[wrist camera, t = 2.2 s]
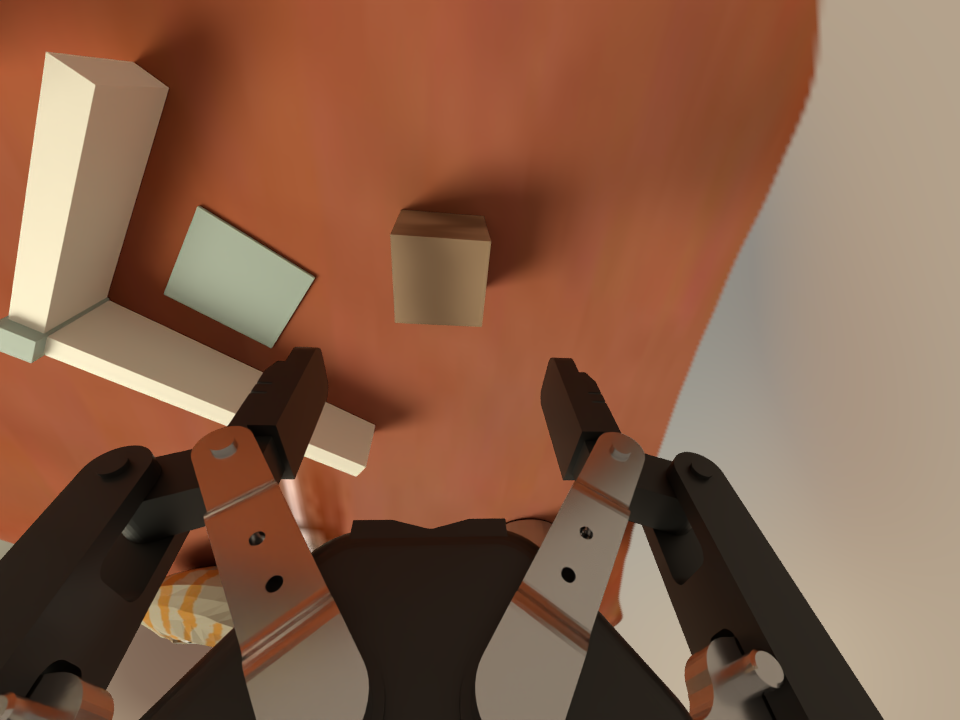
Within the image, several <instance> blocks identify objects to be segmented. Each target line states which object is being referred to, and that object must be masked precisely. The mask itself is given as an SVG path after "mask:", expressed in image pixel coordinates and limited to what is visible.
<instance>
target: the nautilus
mask: <svg viewBox="0 0 960 720" xmlns="http://www.w3.org/2000/svg"><path fill="white" fill-rule="evenodd" d="M141 624H142V625H144V626H145V627H147V628H149V629H150V630H152V631H153V632H155V633H156V634H157V635H159V636H160V637H161V638H167V639H169V640H170V641H171V642H172V643H176V644H190V643H192V644H195V643H196V644H201V645H207V646H211V647H214V646H215V645H216V644H217V643H218V642H219V641H220V640H221V639H222V638H223V637H224V636H225V635H226V634H227V633H228V632H229V631H230V630H231V629H233V628H234V624H233V621H232V617H231V614H230V610H229V607H228V603H227V600H226V596H225V593H224V589H223V586H222V582H221V579H220V575H219V572H218V568H217V566H212V567H205V568H199V569H193V570H188V571H183V572H179V573H175V574H172V575H169V576H167V577H165V579H164V581H163V583H162V585H161V587H160V588H159V590H158V592H157V594H156V596H155V598H154V600H153V602H152V604H151V605H150V607H149V609H148V611H147V613H146V615H145V617H144V619H143V621H142V623H141Z"/></svg>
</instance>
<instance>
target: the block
mask: <svg viewBox="0 0 960 720" xmlns="http://www.w3.org/2000/svg"><path fill="white" fill-rule="evenodd" d="M390 237H391V256H392V275H393V294H394V312H395V323H410V324H432V325H454V326H475V327H482V320H483V311H484V302H485V293H486V284H487V275H488V266H489V257H490V248H491V239H490V236H489V232H488V229H487V225H486V222H485V218H484V216H477V215H464V214H452V213H439V212H426V211H414V210H401V212H400V214H399V216H398V218H397V221H396V223H395V225H394V227H393V230H392V232H391V234H390Z"/></svg>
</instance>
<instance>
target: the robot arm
mask: <svg viewBox="0 0 960 720" xmlns="http://www.w3.org/2000/svg"><path fill="white" fill-rule="evenodd" d="M327 396H328V380H327V375H326V370H325V366H324V361H323V356H322V352H321V349H320V348H312V347H295V348H293V350H292V351H291V353H290V355H289V356H288V358H287V360H286V361H277V362H276V363H274V364H273V365H272V366H270V367H269V368H267V369H266V370H265V371H264V372H263V374H262V375H261V377H260V378H259V380H258V381H257V384H255V386H254V387H253V389H252V390H251V393H249V395H248V396H247V398H246V399H245V401H244V402H243V404H242V405H241V407H240V408H239V410H238V411H237V413H236V414H235V416H234V417H233V419H232V420H231V422H230V423H229V425H228V426H227V427H224V428H221V429H217V430H215V431H213V432H211V433H209V434H207V435H206V436H204V437H203V438H202V439H200V440H199V441H198V442H197V443H196V444H195V446H194V447H193V449H190V450H187V451H182V452H177V453H173V454H168V455H164V456H159V457H154V455H153V454H152V452H151V451H150V450H149V449H148V448H146V447H143V446H126V447H121V448H117V449H114V450H111V451H109V452H107V453H104V454H102V455H100V456H99V457H97V458H95V459H94V460H92V461H91V462H89V463H88V464H87V465H86V466H85V467H84V468H83V469H82V470H81V471H80V472H79V473H78V474H77V475H76V476H75V477H74V479H73V480H72V481H71V482H70V483H69V484H68V485H67V486H66V487H65V489H64V490H63V491H62V492H61V493H60V494H59V495H58V496H57V497H56V499H55V500H54V501H53V502H52V503H51V504H50V505H49V506H48V508H47V509H46V510H45V511H44V512H43V513H42V514H41V515H40V516H39V518H38V519H37V520H36V521H35V522H34V523H33V524H32V525H31V526H30V528H29V529H28V530H27V531H26V532H25V533H24V534H23V535H22V536H21V538H20V539H19V540H18V541H17V542H16V543H15V544H14V545H13V547H12V548H11V549H10V550H9V551H8V552H7V553H6V555H4V557H3V558H2V559H1V560H0V720H112V717H113V713H114V703H113V698H112V696H111V694H110V693H109V692H108V691H106V689H107V687H108V685H109V683H110V681H111V679H112V677H113V676H114V674H115V672H116V670H117V668H118V666H119V664H120V662H121V660H122V659H123V657H124V655H125V653H126V651H127V649H128V647H129V645H130V643H131V642H132V640H133V638H134V636H135V634H136V632H137V630H138V628H139V626H140V624H141V623H142V621H143V619H144V617H145V615H146V613H147V611H148V609H149V607H150V605H151V604H152V602H153V600H154V598H155V596H156V594H157V592H158V590H159V588H160V587H161V585H162V583H163V581H164V579H165V577H166V575H167V573H168V571H169V569H170V568H171V566H172V564H173V562H174V560H175V558H176V556H177V554H178V552H179V550H180V549H181V547H182V545H183V543H184V541H185V539H186V537H187V535H188V533H189V532H190V530H194V529H197V528H201V527H204V526H206V529H207V533H208V536H209V540H210V543H211V547H212V550H213V554H214V557H215V561H216V564H217V568H218V572H219V575H220V579H221V582H222V586H223V589H224V593H225V596H226V600H227V603H228V607H229V610H230V614H231V617H232V621H233V624H234V628H233V629H231V630H230V631H229V632H228V633H227V634H226V635H225V636H224V637H223V638H222V639H221V640H220V641H219V642H218V643H217V644H216V645H215V646H214V647H213V648H212V649H211V650H210V651H209V652H208V653H207V654H206V655H205V656H204V657H203V658H202V659H201V660H200V661H199V662H198V663H197V664H196V665H195V666H194V667H193V668H191V669H190V670H189V672H187V673H186V674H185V675H184V676H183V677H182V678H181V679H180V680H179V681H178V682H177V683H176V684H175V685H174V686H173V687H172V688H171V689H170V690H169V691H168V692H167V693H166V694H165V695H164V696H163V697H162V698H161V699H160V700H159V701H158V702H157V703H156V704H155V705H154V706H152V707H151V708H150V709H149V710H148V711H147V713H145V714H144V715H143V716H142V717H141V718H140V719H139V720H884V719H883V718H882V716H881V714H880V713H879V711H878V710H877V708H876V707H875V706H874V704H873V702H872V701H871V699H870V698H869V696H868V694H867V693H866V691H865V690H864V688H863V687H862V685H861V684H860V682H859V681H858V679H857V678H856V676H855V675H854V673H853V671H852V670H851V668H850V667H849V665H848V664H847V662H846V661H845V659H844V658H843V656H842V655H841V653H840V652H839V650H838V648H837V647H836V645H835V644H834V642H833V641H832V639H831V638H830V636H829V635H828V633H827V632H826V630H825V629H824V627H823V625H822V624H821V622H820V621H819V619H818V618H817V616H816V615H815V613H814V612H813V610H812V609H811V608H810V606H809V604H808V602H807V601H806V599H805V598H804V597H803V595H802V593H801V592H800V590H799V589H798V587H797V586H796V584H795V583H794V581H793V580H792V578H791V576H790V575H789V573H788V572H787V570H786V569H785V567H784V566H783V564H782V563H781V561H780V560H779V558H778V557H777V555H776V554H775V552H774V550H773V549H772V547H771V546H770V544H769V543H768V541H767V540H766V538H765V537H764V535H763V534H762V532H761V530H760V529H759V527H758V526H757V524H756V523H755V521H754V520H753V518H752V517H751V515H750V514H749V512H748V511H747V509H746V507H745V506H744V504H743V503H742V501H741V500H740V498H739V497H738V495H737V494H736V492H735V491H734V489H733V488H732V486H731V485H730V483H729V481H728V480H727V478H726V477H725V475H724V474H723V472H722V471H721V470H720V469H719V467H718V466H717V465H715V464H714V463H713V462H712V461H710V460H709V459H707V458H705V457H703V456H701V455H699V454H696V453H691V452H683V453H680V454H678V455H676V457H675V458H674V460H673V461H669V460H665V459H662V458H658V457H655V456H651V455H648V454H645V453H644V451H643V449H642V448H641V446H640V445H639V444H638V443H637V442H636V441H635V440H633V439H632V438H630V437H628V436H626V435H624V434H621V432H620V430H619V428H618V426H617V424H616V422H615V420H614V418H613V416H612V414H611V412H610V410H609V408H608V406H607V404H606V403H605V400H604V398H603V396H602V394H601V392H600V390H599V388H598V386H597V384H596V382H595V381H594V380H593V379H592V378H591V377H590V376H589V375H588V374H586V373H585V372H578V369H577V367H576V365H575V363H574V361H573V359H571V358H550V360H549V362H548V366H547V370H546V374H545V378H544V381H543V385H542V389H541V406H542V409H543V413H544V416H545V420H546V423H547V427H548V430H549V433H550V437H551V440H552V444H553V447H554V451H555V454H556V457H557V461H558V464H559V468H560V471H561V475H562V478H563V480H575V482H574V484H573V485H572V487H571V489H570V491H569V493H568V495H567V497H566V499H565V501H564V503H563V504H562V506H561V508H560V510H559V512H558V514H557V516H556V518H555V520H554V522H553V524H551V523H549V522H546V521H542V520H534V519H532V520H519V521H514V522H510V523H507V524H506V521H505V519H467V520H464V521H460V522H456V523H452V524H449V525H445V526H441V527H438V528H434V529H427V528H423V527H419V526H415V525H411V524H407V523H403V522H399V521H395V520H353V525H352V529H351V533H348V534H344V535H342V536H339V537H337V538H334V539H332V540H330V541H328V542H326V543H325V544H323V545H322V546H320V547H318V548H317V549H315V550H314V551H313V552H312V553H311V552H310V550H309V548H308V546H307V544H306V542H305V540H304V537H303V535H302V533H301V531H300V529H299V527H298V525H297V523H296V521H295V519H294V517H293V514H292V512H291V510H290V508H289V506H288V504H287V502H286V500H285V498H284V496H283V494H282V491H281V489H280V487H279V482H280V480H281V479H295V477H296V474H297V472H298V470H299V467H300V465H301V462H302V460H303V457H304V455H305V452H306V450H307V447H308V445H309V442H310V440H311V437H312V435H313V432H314V430H315V427H316V425H317V422H318V420H319V417H320V415H321V412H322V410H323V407H324V405H325V402H326V400H327ZM628 521H631V522H634V523H638V524H641V525H642V527H643V529H644V532H645V534H646V537H647V540H648V542H649V545H650V547H651V550H652V552H653V555H654V558H655V560H656V563H657V566H658V568H659V571H660V573H661V576H662V578H663V581H664V584H665V586H666V589H667V592H668V594H669V597H670V599H671V602H672V605H673V607H674V610H675V612H676V615H677V617H678V620H679V623H680V625H681V628H682V631H683V633H684V636H685V638H686V641H687V644H688V646H689V649H690V651H691V654H692V656H691V657H690V658H689V659H688V661H687V663H686V666H685V682H686V686H687V690H688V697H689V701H690V713H689V712H688V711H687V710H686V708H685V707H684V706H683V704H682V703H681V702H680V700H679V699H678V698H677V697H676V696H675V695H674V694H673V692H672V691H671V690H670V689H669V688H668V687H667V686H666V685H665V684H664V682H662V680H661V679H660V678H659V677H658V676H657V675H656V674H655V673H654V671H653V670H652V669H651V668H650V667H649V666H648V665H647V664H646V663H645V662H644V660H643V659H642V658H641V657H640V656H639V655H638V654H637V653H636V652H635V651H634V649H633V648H632V647H631V646H630V645H629V644H628V643H627V642H626V641H625V640H624V638H623V637H622V636H621V635H620V634H619V633H618V632H617V631H616V630H615V628H614V627H613V626H612V625H611V624H610V623H609V622H608V621H607V620H606V619H605V617H604V616H603V615H602V614H601V613H600V612H599V611H598V610H599V607H600V604H601V601H602V598H603V595H604V592H605V589H606V586H607V583H608V580H609V577H610V574H611V571H612V568H613V565H614V562H615V559H616V556H617V553H618V550H619V547H620V544H621V541H622V538H623V535H624V532H625V529H626V526H627V523H628Z"/></svg>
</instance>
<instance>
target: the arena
mask: <svg viewBox="0 0 960 720" xmlns="http://www.w3.org/2000/svg"><path fill="white" fill-rule="evenodd" d="M168 90H169V87H167V86H166V85H164V84H163V83H162V82H160V81H159V80H158V79H156V78H155V77H153V76H152V75H151V74H149V73H148V72H146V71H145V70H144V69H142V68H141V67H139V66H138V65H137V64H135V63H134V62H129V61H121V60H112V59H104V58H95V57H87V56H78V55H69V54H61V53H52V52H46V57H45V64H44V71H43V78H42V85H41V92H40V99H39V106H38V113H37V120H36V127H35V134H34V141H33V148H32V155H31V162H30V169H29V176H28V184H27V191H26V198H25V205H24V212H23V219H22V226H21V233H20V240H19V247H18V254H17V261H16V268H15V275H14V282H13V289H12V296H11V303H10V310H9V316H7V317H5V318H3V319H1V320H0V351H1V352H3V353H6V354H8V355H11V356H14V357H16V358H19V359H22V360H24V361H27V362H30V363H33V362H34V361H36V360H37V359H39V358H41V357H42V356H44V355H46V356H49V357H52V358H54V359H57V360H59V361H62V362H64V363H67V364H69V365H72V366H75V367H77V368H80V369H82V370H85V371H87V372H90V373H92V374H95V375H98V376H100V377H103V378H105V379H108V380H110V381H113V382H116V383H118V384H121V385H123V386H126V387H128V388H131V389H133V390H136V391H139V392H141V393H144V394H146V395H149V396H151V397H154V398H156V399H159V400H162V401H164V402H167V403H169V404H172V405H174V406H177V407H179V408H182V409H185V410H187V411H190V412H192V413H195V414H197V415H200V416H203V417H205V418H208V419H210V420H213V421H215V422H218V423H220V424H223V425H226V426H228V425H229V423H230V422H231V420H232V419H233V417H234V416H235V414H236V413H237V411H238V410H239V408H240V407H241V405H242V404H243V402H244V401H245V399H246V398H247V396H248V395H249V393H251V390H252V389H253V387H254V386H255V384H257V381H258V380H259V378H260V377H261V375H262V374H263V372H261V371H259V370H257V369H254V368H252V367H250V366H248V365H246V364H244V363H242V362H240V361H237V360H235V359H233V358H231V357H229V356H227V355H225V354H223V353H220V352H218V351H216V350H214V349H212V348H210V347H208V346H205V345H203V344H201V343H199V342H197V341H195V340H193V339H191V338H188V337H186V336H184V335H182V334H180V333H178V332H176V331H174V330H171V329H169V328H167V327H165V326H163V325H161V324H159V323H157V322H154V321H152V320H150V319H148V318H146V317H144V316H142V315H139V314H137V313H135V312H133V311H131V310H129V309H127V308H125V307H122V306H120V305H118V304H116V303H114V302H112V301H110V300H109V298H107V295H108V292H109V289H110V285H111V282H112V278H113V275H114V272H115V268H116V265H117V262H118V258H119V255H120V252H121V248H122V245H123V241H124V238H125V235H126V231H127V228H128V225H129V221H130V218H131V215H132V211H133V208H134V204H135V201H136V198H137V194H138V191H139V188H140V184H141V181H142V178H143V174H144V171H145V167H146V164H147V161H148V157H149V154H150V151H151V147H152V144H153V141H154V137H155V134H156V130H157V127H158V124H159V120H160V117H161V114H162V110H163V107H164V103H165V100H166V97H167V93H168ZM314 279H315V277H314V276H313V275H311V274H310V273H308V272H306V271H305V270H303V269H301V268H300V267H298V266H297V265H295V264H293V263H292V262H290V261H288V260H287V259H285V258H284V257H282V256H280V255H279V254H277V253H276V252H274V251H272V250H271V249H269V248H267V247H266V246H264V245H263V244H261V243H259V242H258V241H256V240H254V239H253V238H251V237H250V236H248V235H246V234H245V233H243V232H242V231H240V230H238V229H237V228H235V227H233V226H232V225H230V224H229V223H227V222H225V221H224V220H222V219H220V218H219V217H217V216H216V215H214V214H212V213H211V212H209V211H208V210H206V209H204V208H203V207H201V206H197V209H196V212H195V214H194V217H193V219H192V222H191V225H190V227H189V230H188V232H187V235H186V237H185V240H184V243H183V245H182V248H181V250H180V253H179V256H178V258H177V261H176V263H175V266H174V268H173V271H172V274H171V276H170V279H169V281H168V284H167V287H166V289H165V292H164V295H166V296H168V297H170V298H172V299H174V300H176V301H178V302H180V303H182V304H184V305H186V306H188V307H190V308H192V309H194V310H196V311H198V312H200V313H202V314H204V315H206V316H208V317H210V318H212V319H214V320H216V321H218V322H220V323H222V324H224V325H226V326H228V327H230V328H232V329H234V330H236V331H238V332H240V333H242V334H244V335H246V336H248V337H250V338H252V339H254V340H256V341H258V342H260V343H262V344H264V345H266V346H268V347H270V348H272V347H273V345H274V344H275V342H276V340H277V339H278V337H279V336H280V334H281V332H282V331H283V329H284V327H285V326H286V324H287V323H288V321H289V319H290V318H291V316H292V314H293V313H294V311H295V310H296V308H297V306H298V305H299V303H300V301H301V300H302V298H303V297H304V295H305V293H306V292H307V290H308V288H309V287H310V285H311V284H312V282H313V280H314ZM374 429H375V425H374V424H372V423H370V422H367V421H365V420H363V419H361V418H359V417H357V416H355V415H352V414H350V413H348V412H346V411H344V410H342V409H340V408H338V407H335V406H333V405H331V404H329V403H327V402H325V405H324V407H323V410H322V412H321V415H320V417H319V420H318V422H317V425H316V427H315V430H314V432H313V435H312V437H311V440H310V442H309V445H308V447H307V450H306V452H305V455H304V456H305V457H307V458H310V459H313V460H315V461H318V462H320V463H323V464H325V465H328V466H330V467H333V468H336V469H338V470H341V471H343V472H346V473H348V474H351V475H354V476H357V475H358V474H359V473H360V472H361V471H362V470H363V469H364V468H365V467H366V464H367V460H368V455H369V451H370V447H371V442H372V438H373V434H374Z"/></svg>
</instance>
